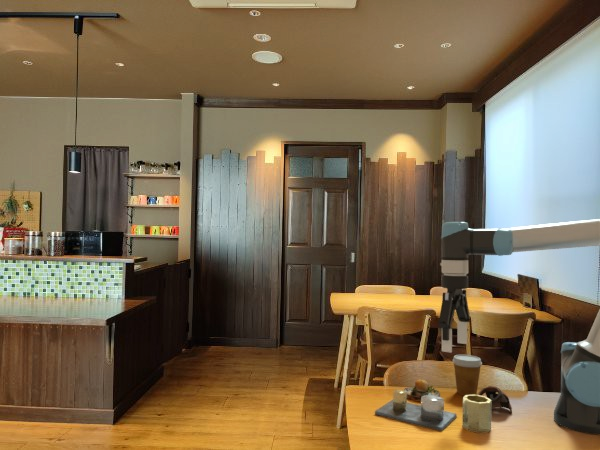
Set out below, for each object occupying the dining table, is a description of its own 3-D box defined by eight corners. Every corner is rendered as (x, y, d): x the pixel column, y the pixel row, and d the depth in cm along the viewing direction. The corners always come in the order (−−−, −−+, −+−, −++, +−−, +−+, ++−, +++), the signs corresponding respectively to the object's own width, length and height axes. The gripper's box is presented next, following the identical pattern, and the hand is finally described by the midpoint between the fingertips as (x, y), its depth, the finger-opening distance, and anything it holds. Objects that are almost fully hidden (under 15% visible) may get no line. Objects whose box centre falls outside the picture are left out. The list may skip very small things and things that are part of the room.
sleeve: (492, 426, 136) (493, 398, 136) (486, 435, 131) (487, 405, 131) (467, 420, 140) (467, 393, 140) (460, 428, 134) (460, 399, 135)
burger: (445, 396, 163) (445, 373, 163) (433, 406, 153) (433, 382, 153) (410, 389, 169) (411, 367, 169) (397, 398, 160) (397, 375, 160)
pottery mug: (519, 418, 144) (508, 396, 143) (488, 430, 146) (478, 407, 145) (505, 395, 156) (495, 374, 155) (477, 406, 158) (467, 385, 156)
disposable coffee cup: (484, 392, 167) (484, 357, 167) (478, 399, 159) (478, 362, 159) (456, 387, 172) (456, 352, 172) (448, 394, 164) (449, 358, 164)
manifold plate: (456, 417, 143) (456, 396, 143) (441, 431, 132) (442, 409, 133) (393, 402, 154) (393, 383, 155) (375, 414, 144) (375, 393, 144)
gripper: (456, 271, 155) (456, 338, 154) (426, 276, 135) (426, 353, 134) (480, 272, 151) (480, 341, 150) (453, 277, 130) (453, 357, 130)
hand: (454, 347), depth 142 cm, fingers open, 13 cm apart
